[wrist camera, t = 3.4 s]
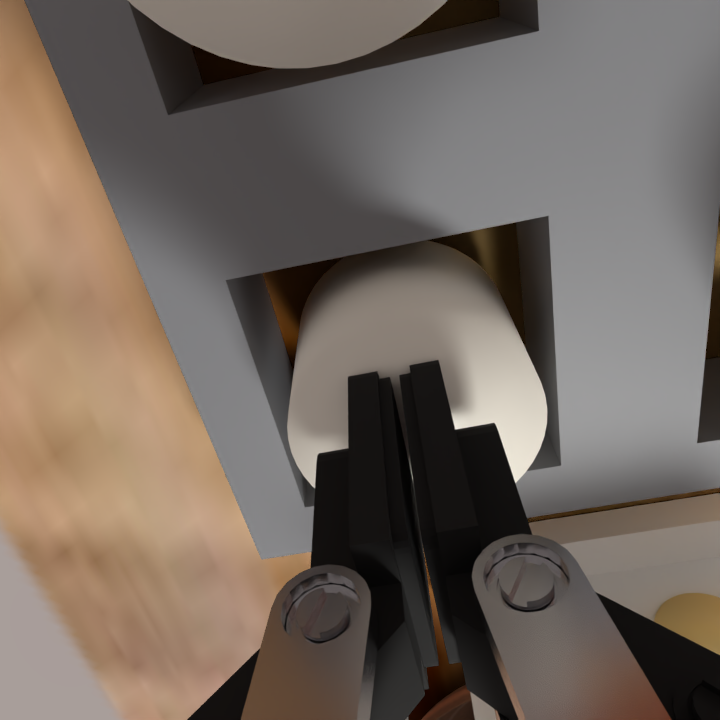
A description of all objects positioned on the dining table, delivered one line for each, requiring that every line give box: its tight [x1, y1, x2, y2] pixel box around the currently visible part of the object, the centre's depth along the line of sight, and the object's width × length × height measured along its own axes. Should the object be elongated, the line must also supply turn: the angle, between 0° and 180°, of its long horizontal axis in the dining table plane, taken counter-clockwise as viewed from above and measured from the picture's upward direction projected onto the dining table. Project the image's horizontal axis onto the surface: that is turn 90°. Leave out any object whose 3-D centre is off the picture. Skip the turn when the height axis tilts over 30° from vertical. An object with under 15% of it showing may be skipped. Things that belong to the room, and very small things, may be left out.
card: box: [470, 493, 720, 720], centre depth 16 cm, size 10×3×10 cm, turn 102°
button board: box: [24, 0, 720, 559], centre depth 12 cm, size 18×18×3 cm
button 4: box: [287, 240, 547, 488], centre depth 13 cm, size 5×5×4 cm
